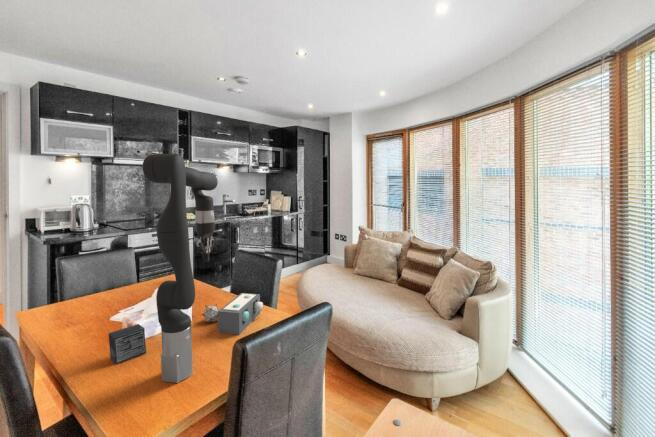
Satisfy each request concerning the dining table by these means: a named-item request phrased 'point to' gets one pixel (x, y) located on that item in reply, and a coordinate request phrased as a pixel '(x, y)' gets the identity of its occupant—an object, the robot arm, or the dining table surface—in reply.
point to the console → (237, 314)
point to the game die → (211, 313)
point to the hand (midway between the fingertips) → (206, 261)
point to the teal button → (245, 316)
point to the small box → (127, 343)
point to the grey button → (258, 306)
